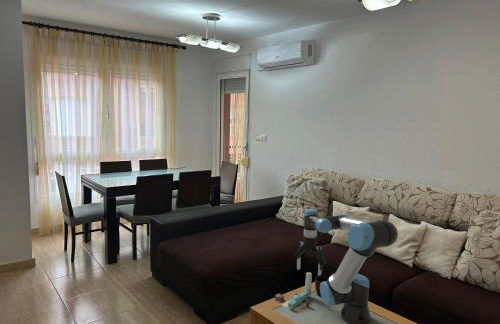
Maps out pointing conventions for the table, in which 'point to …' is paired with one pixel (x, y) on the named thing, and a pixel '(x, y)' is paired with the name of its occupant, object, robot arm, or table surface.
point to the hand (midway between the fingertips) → (309, 271)
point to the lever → (302, 296)
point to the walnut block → (279, 297)
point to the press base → (300, 307)
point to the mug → (317, 284)
